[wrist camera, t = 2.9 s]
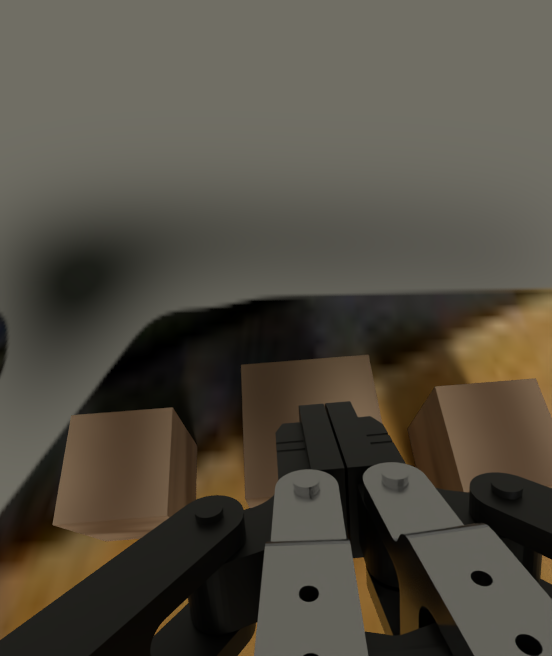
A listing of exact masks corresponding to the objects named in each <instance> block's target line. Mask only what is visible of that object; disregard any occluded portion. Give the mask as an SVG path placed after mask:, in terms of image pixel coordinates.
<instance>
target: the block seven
mask: <svg viewBox="0 0 552 656" xmlns="http://www.w3.org/2000/svg"><path fill="white" fill-rule="evenodd" d="M196 473H197V445H196V443H195V442H194V440H193V439H192V437H191V435H190V434H189V432H188V431H187V429H186V428H185V426H184V424H183V423H182V421H181V420H180V418H179V417H178V415H177V413H176V412H175V410H174V409H173V407H171V408H159V409H146V410H133V411H121V412H108V413H96V414H83V415H72V416H71V420H70V426H69V432H68V438H67V444H66V450H65V455H64V461H63V467H62V473H61V479H60V484H59V490H58V496H57V502H56V508H55V514H54V519H53V525H55V526H58V527H61V528H64V529H68V530H71V531H74V532H77V533H81V534H84V535H87V536H90V537H93V538H97V539H100V540H103V541H116V540H128V539H140V538H142V537H143V536H145V535H146V534H147V533H149V532H150V531H151V530H153V529H154V528H156V527H157V526H158V525H160V524H161V523H163V522H164V521H165V520H167V519H168V518H169V517H171V516H172V515H174V514H175V513H176V512H178V511H179V510H180V509H182V508H183V507H185V506H186V505H187V504H189V503H191V502H193V501H195V500H196Z"/></svg>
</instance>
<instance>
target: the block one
mask: <svg viewBox="0 0 552 656" xmlns="http://www.w3.org/2000/svg"><path fill="white" fill-rule="evenodd" d="M408 434H409V438H410V443H411V447H412V451H413V456H414V460H415V465H416V468H417V469H419V470H420V471H422V472H423V473H424V474H425V475H426V476H427V478H428V479H429V480H430V482H431V483H432V484H433V485H434V487H435V488H439V489H444V490H451V491H460V492H469V487H470V482H471V480H472V479H473V478H474V477H476V476H478V475H480V474H484V473H491V472H499V473H507V474H512V475H516V476H519V477H522V478H525V479H528V480H530V481H533V482H536V483H539V484H541V485H544V486H547V487H549V488H552V418H551V415H550V413H549V410H548V408H547V405H546V403H545V400H544V398H543V395H542V393H541V390H540V388H539V386H538V383H537V381H536V379H523V380H511V381H498V382H486V383H473V384H460V385H448V386H435V387H434V389H433V390H432V392H431V394H430V395H429V397H428V398H427V400H426V401H425V403H424V404H423V406H422V407H421V409H420V410H419V412H418V413H417V415H416V417H415V418H414V420H413V421H412V423H411V424H410V426H409V427H408Z"/></svg>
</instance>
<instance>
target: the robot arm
mask: <svg viewBox="0 0 552 656" xmlns="http://www.w3.org/2000/svg"><path fill="white" fill-rule="evenodd" d="M275 434H276V451H277V467H278V482H277V484H276V486H275V494H274V495H273V496H272V497H271V498H270V499H269V500H267V501H266V502H264V503H262V504H260V505H258V506H255V507H252V508H249V509H246V510H243V507H242V505H241V504H240V503H239V502H238V501H237V500H235V499H233V498H231V497H227V496H219V495H216V496H207V497H203V498H200V499H197V500H195V501H193V502H191V503H189V504H187V505H186V506H185V507H183V508H182V509H180V510H179V511H178V512H176V513H175V514H174V515H172V516H171V517H169V518H168V519H167V520H165V521H164V522H163V523H161V524H160V525H158V526H157V527H156V528H154V529H153V530H151V531H150V532H149V533H147V534H146V535H145V536H143V537H142V538H140V539H139V540H138V541H136V542H135V543H134V544H132V545H131V546H129V547H128V548H127V549H125V550H124V551H123V552H121V553H120V554H118V555H117V556H116V557H114V558H113V559H112V560H110V561H109V562H107V563H106V564H105V565H103V566H102V567H101V568H99V569H98V570H96V571H95V572H94V573H92V574H91V575H89V576H88V577H87V578H85V579H84V580H83V581H81V582H80V583H78V584H77V585H76V586H74V587H73V588H72V589H70V590H69V591H67V592H66V593H65V594H63V595H62V596H61V597H59V598H58V599H56V600H55V601H54V602H52V603H51V604H50V605H48V606H47V607H45V608H44V609H43V610H41V611H40V612H39V613H37V614H36V615H34V616H33V617H32V618H30V619H29V620H27V621H26V622H25V623H23V624H22V625H21V626H19V627H18V628H16V629H15V630H14V631H12V632H11V633H10V634H8V635H7V636H5V637H4V638H3V639H1V640H0V656H238V654H239V653H240V652H241V651H242V650H243V648H244V647H245V646H246V645H247V644H248V642H249V641H250V639H251V638H252V636H253V634H254V631H255V627H256V622H257V632H256V643H255V653H254V656H552V584H550V583H548V582H546V581H544V580H542V579H540V575H541V562H542V555H543V556H545V557H548V558H550V559H552V488H549V487H547V486H544V485H541V484H539V483H536V482H533V481H530V480H528V479H525V478H522V477H519V476H516V475H512V474H507V473H499V472H491V473H484V474H480V475H478V476H476V477H474V478H473V479H472V480H471V482H470V487H469V492H460V491H451V490H444V489H439V488H435V487H434V485H433V484H432V483H431V482H430V480H429V479H428V478H427V476H426V475H425V474H424V473H423V472H422V471H420V470H419V469H417V468H415V467H413V466H411V465H407V464H405V462H404V460H403V458H402V457H401V455H400V453H399V451H398V450H397V448H396V446H395V445H394V443H392V439H391V438H390V436H389V435H388V432H387V431H386V429H385V427H384V426H383V424H382V423H381V422H379V421H377V420H376V419H374V418H373V417H371V416H365V417H358V416H357V414H356V412H355V410H354V408H353V406H352V404H351V402H350V401H346V402H334V403H325V407H324V404H311V405H299V422H296V423H284V424H282V425H281V426H280V427H279V429H278V430H277V431H276V433H275ZM360 557H364V559H365V563H366V578H367V587H368V590H369V593H370V596H371V598H372V601H373V604H374V606H375V609H376V612H377V614H378V617H379V619H380V622H381V625H382V627H383V630H384V633H385V634H378V633H371V632H364V625H363V619H362V613H361V607H360V600H359V594H358V588H357V582H356V575H355V569H354V563H353V558H360ZM187 598H188V602H189V603H188V604H187V605H186V606H185V607H184V608H183V609H182V610H181V611H180V612H179V613H178V614H177V615H176V616H174V617H173V618H172V619H171V620H170V621H169V622H168V623H167V624H166V625H165V626H164V627H163V628H162V629H161V630H160V631H159V632H158V633H157V634H156V635H155V636H154V634H155V632H156V630H157V629H158V627H159V625H160V624H161V623H162V622H163V621H164V620H165V619H166V618H167V617H168V616H169V615H170V614H171V613H172V612H173V611H174V610H175V609H176V608H177V607H178V606H179V605H180V604H181V603H183V602H184V601H185V600H186V599H187ZM153 636H154V637H153Z"/></svg>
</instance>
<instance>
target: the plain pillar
mask: <svg viewBox="0 0 552 656" xmlns="http://www.w3.org/2000/svg"><path fill="white" fill-rule="evenodd" d="M241 381H242V411H243V442H244V472H245V499H246V501H247V503H248V505H249V507H250V508H252V507H255V506H258V505H260V504H262V503H264V502H266V501H267V500H269V499H270V498H271V497H272V496H273V495H274V494H275V486H276V484H277V482H278V467H277V451H276V434H275V433H276V431H277V430H278V429H279V427H280V426H281V425H282V424H284V423H296V422H299V405H311V404H324V407H325V403H334V402H346V401H350V402H351V404H352V406H353V408H354V410H355V412H356V414H357V416H358V417H365V416H371V417H373V418H374V419H376V420H377V421H379V422H381V423H382V420H381V415H380V410H379V405H378V400H377V395H376V390H375V385H374V380H373V375H372V370H371V365H370V360H369V355H359V356H346V357H334V358H321V359H308V360H295V361H283V362H270V363H257V364H245V365H241Z"/></svg>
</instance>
